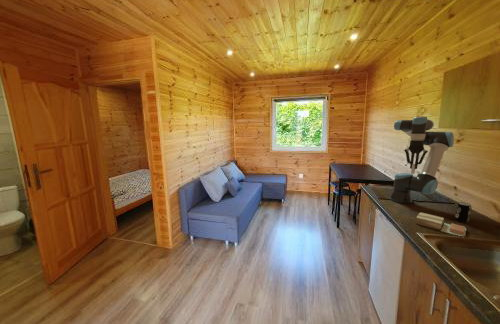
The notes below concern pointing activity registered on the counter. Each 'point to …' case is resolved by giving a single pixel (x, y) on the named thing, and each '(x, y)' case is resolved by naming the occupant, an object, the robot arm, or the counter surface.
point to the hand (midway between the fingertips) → (412, 173)
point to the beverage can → (463, 212)
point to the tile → (457, 229)
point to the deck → (429, 220)
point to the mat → (446, 229)
